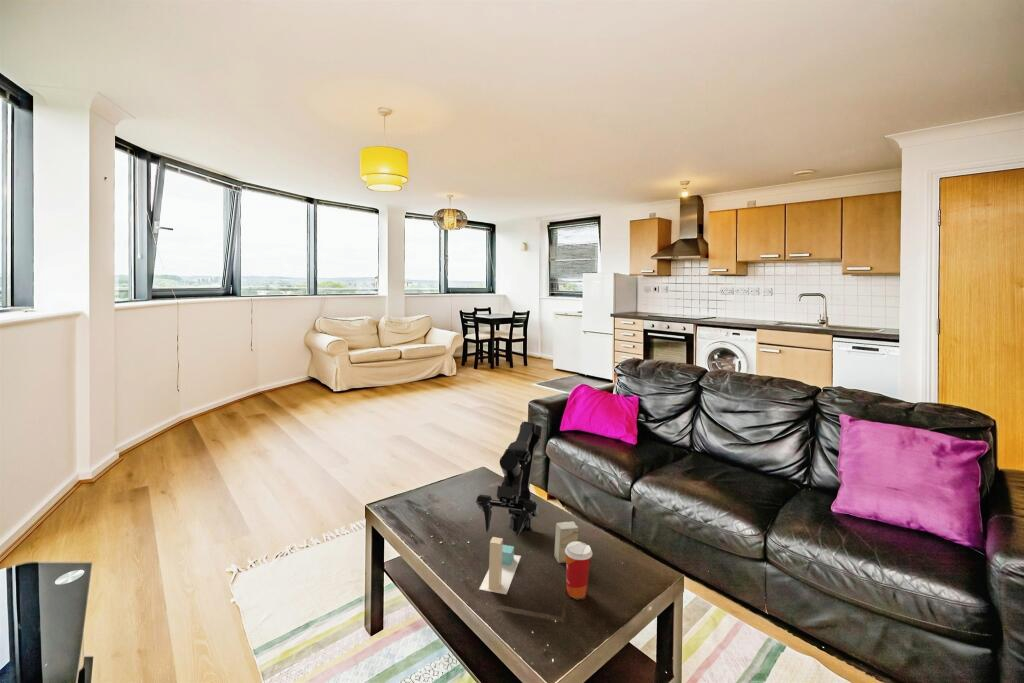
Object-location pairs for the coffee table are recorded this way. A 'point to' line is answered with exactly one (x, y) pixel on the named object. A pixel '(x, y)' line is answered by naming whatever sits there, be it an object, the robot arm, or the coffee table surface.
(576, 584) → the paper cup
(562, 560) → the skincare box
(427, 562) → the coffee table surface
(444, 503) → the coffee table surface
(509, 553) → the teal block
